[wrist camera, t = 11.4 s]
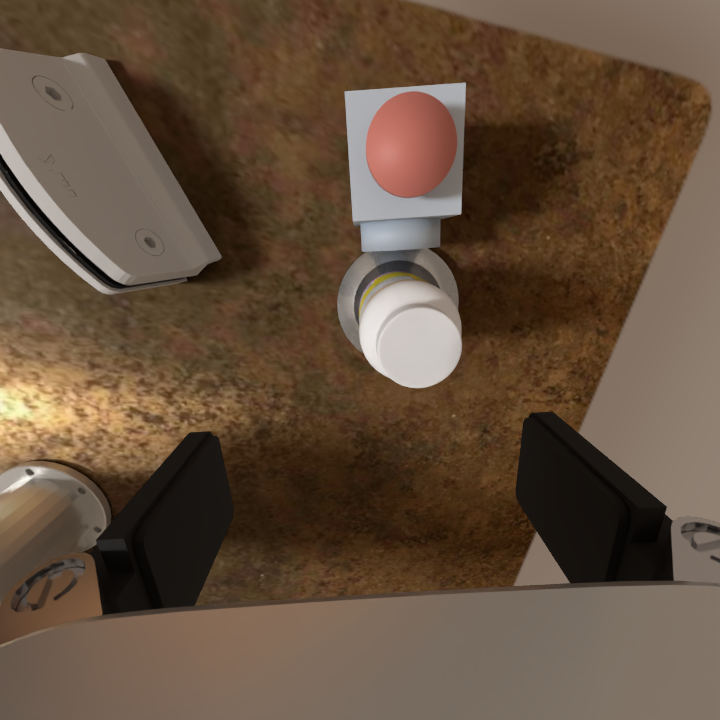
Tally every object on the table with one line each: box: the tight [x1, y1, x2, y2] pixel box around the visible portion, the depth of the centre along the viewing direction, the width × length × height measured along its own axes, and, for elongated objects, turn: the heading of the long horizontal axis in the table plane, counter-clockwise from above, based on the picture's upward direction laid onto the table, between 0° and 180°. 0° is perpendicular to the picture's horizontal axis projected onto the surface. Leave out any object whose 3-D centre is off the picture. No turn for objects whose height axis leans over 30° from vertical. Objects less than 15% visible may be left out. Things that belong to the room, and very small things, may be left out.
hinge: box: [0, 49, 222, 294], centre depth 25 cm, size 17×5×10 cm, turn 26°
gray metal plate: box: [337, 248, 459, 353], centre depth 31 cm, size 11×11×1 cm
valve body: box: [345, 83, 466, 252], centre depth 24 cm, size 9×7×10 cm
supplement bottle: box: [359, 271, 462, 388], centre depth 25 cm, size 7×7×13 cm
